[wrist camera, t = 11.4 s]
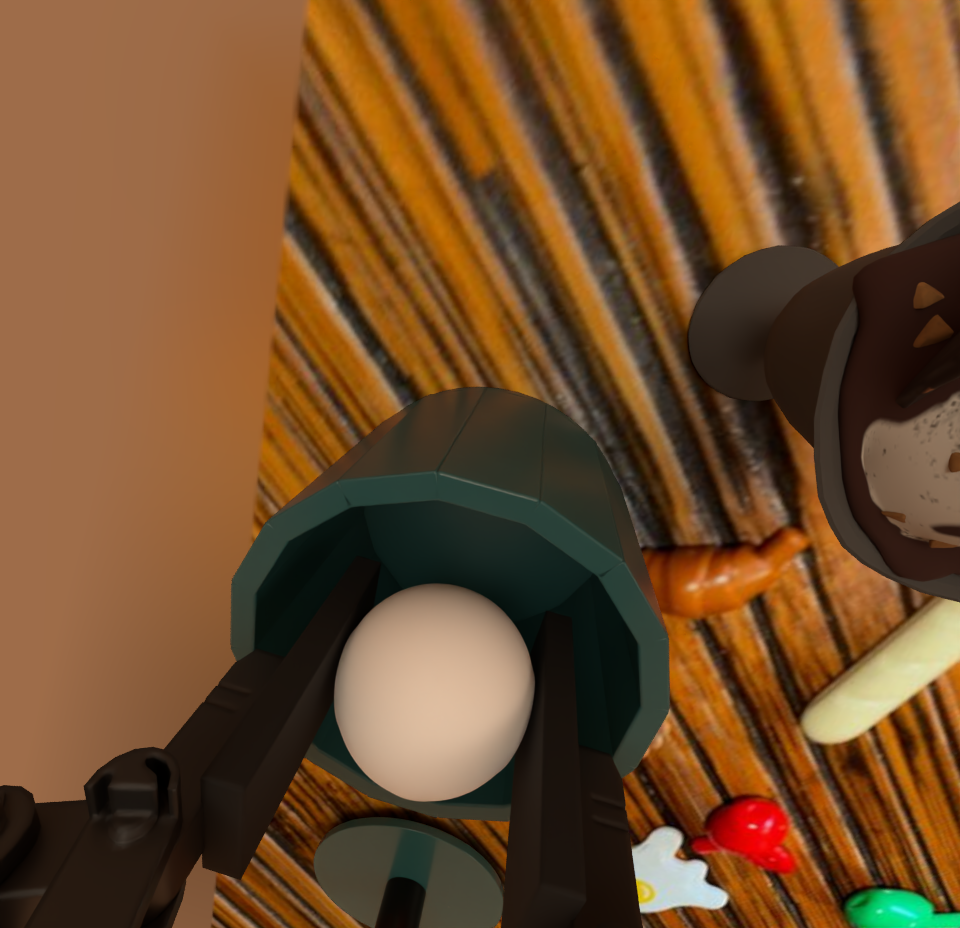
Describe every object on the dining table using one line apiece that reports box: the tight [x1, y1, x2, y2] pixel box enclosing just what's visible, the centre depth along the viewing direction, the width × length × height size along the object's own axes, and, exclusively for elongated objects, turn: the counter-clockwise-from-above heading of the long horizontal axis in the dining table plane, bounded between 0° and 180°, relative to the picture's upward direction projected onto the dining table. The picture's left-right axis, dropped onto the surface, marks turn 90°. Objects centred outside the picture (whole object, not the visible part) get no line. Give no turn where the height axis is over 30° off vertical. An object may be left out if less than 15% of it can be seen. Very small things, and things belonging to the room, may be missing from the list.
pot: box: [231, 387, 670, 822], centre depth 16 cm, size 11×11×8 cm
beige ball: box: [334, 583, 535, 802], centre depth 12 cm, size 5×5×5 cm
